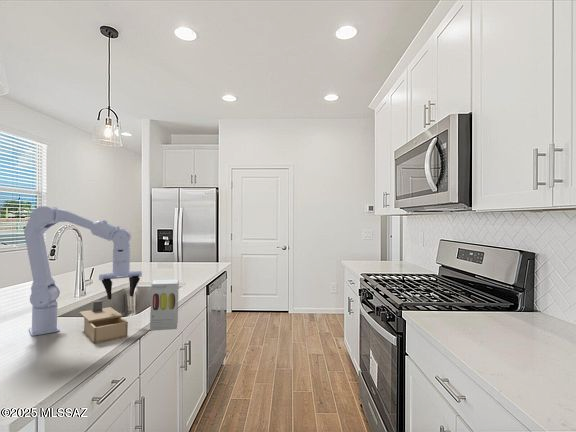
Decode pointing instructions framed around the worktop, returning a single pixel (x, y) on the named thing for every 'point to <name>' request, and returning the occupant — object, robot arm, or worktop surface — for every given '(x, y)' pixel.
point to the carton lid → (99, 312)
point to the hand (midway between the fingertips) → (120, 297)
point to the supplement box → (164, 305)
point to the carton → (106, 329)
